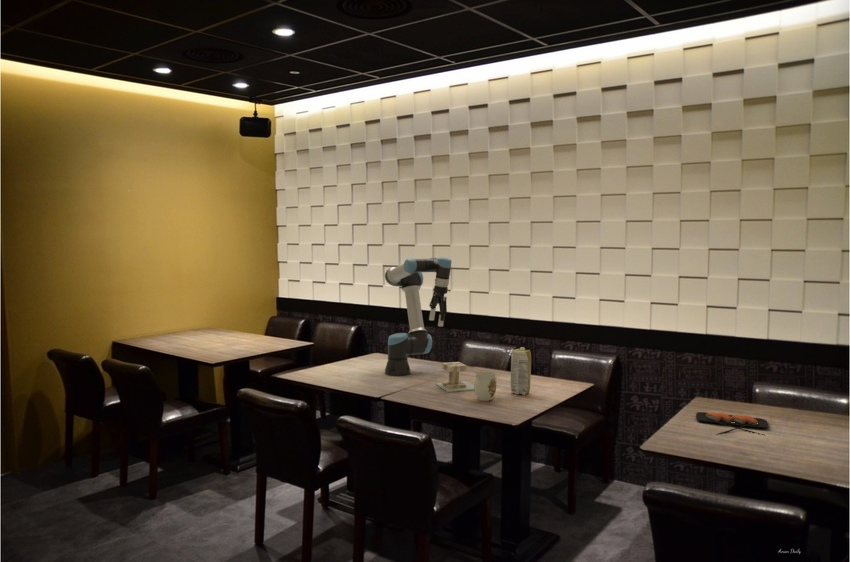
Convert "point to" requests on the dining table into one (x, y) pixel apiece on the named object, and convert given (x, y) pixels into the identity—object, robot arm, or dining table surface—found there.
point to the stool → (454, 374)
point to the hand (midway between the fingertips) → (435, 323)
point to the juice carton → (520, 371)
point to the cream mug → (485, 385)
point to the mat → (468, 387)
